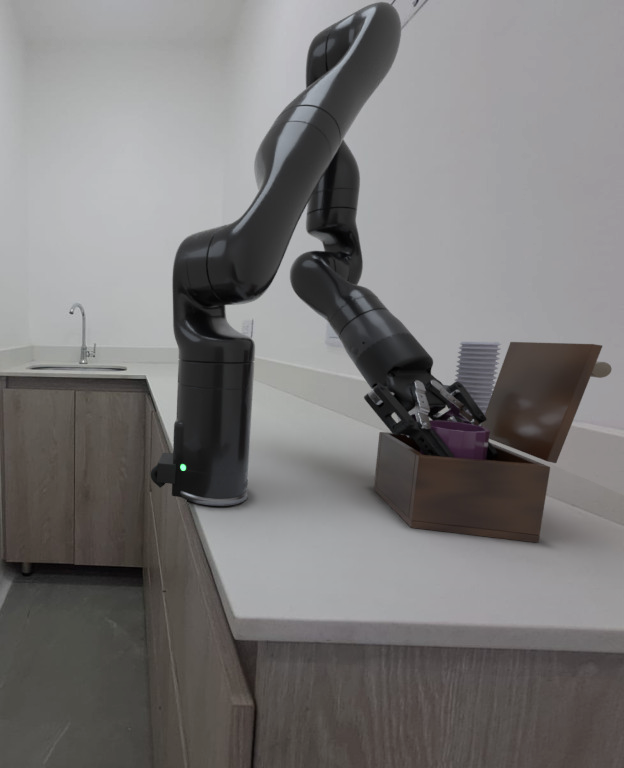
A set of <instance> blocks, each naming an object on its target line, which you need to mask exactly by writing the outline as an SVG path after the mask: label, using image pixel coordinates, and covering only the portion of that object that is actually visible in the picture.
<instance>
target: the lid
mask: <svg viewBox="0 0 624 768" xmlns="http://www.w3.org/2000/svg"><path fill="white" fill-rule="evenodd" d="M602 349H603V345H601V344H595V343H572V342H571V343H569V342H567V343H565V342H534V341H531V342H530V341H510V342H509V345H508V347H507V351H506V353H505V357H504V359H503V362H502V365H501V368H500V370H499V373H498V376H497V378H496V381H495V382H496V383H495V384H494V389H492V391H493V393H492V394H491V395H492V396H491V398H490V401H489V404H488V407H487V410H486V412H485V417H486V419H487V420H486V421H484V422H482V424H481V426H482V427H485V428H488V429H489V430H490V434H489V440H491V441H493V442H497V443H499V444H502V445H504V446H506V447H509V448H512V449H514V450H516V451H519V452H522V453H524V454H527V455H529V456H533V457H535V458H537V459H540V460H543V461H545V462H547V463H553V464H557V462H558V460H559V457H560V455H561V452H562V450H563V447H564V445H565V442H566V440H567V437H568V434H569V432H570V430H571V427H572V425H573V423H574V420H575V416H576V414H577V412H578V409H579V407H580V404H581V402H582V399H583V396H584V394H585V392H586V389H587V387H588V384H589V382H590V379H591V378H598V379H601V378H602V379H603V378H606V377H607V376H609V375H610V374H611V373H612V366H611V364H610V363H608V362H606V361H598V358H599V357H600V354H601V351H602Z"/></svg>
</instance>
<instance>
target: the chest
mask: <svg viewBox="0 0 624 768" xmlns="http://www.w3.org/2000/svg"><path fill="white" fill-rule="evenodd" d="M490 444H491V445H492V446H493V447H494V449H495V450H496V451H497V453H498V456H497V457H496V458H494V459H492V460H479V459H467V458H454V457H441V456H429V455H423V454H421V453H420V448H419V446H418V445H417V443H416V442H415V441H414V440H412V439H409V438H408V437H407V436H406V435H404V434H401V435H399V436H396V435H394V434H393V433H392V432H388V431H379V433H378V444H377V452H376V462H375V472H374V475H375V476H374V484H373V491H374V492H376V493H377V494H378V495H379V496H380V497H381V498H382V500H383V501H384V502H385V503H386V504H387V505H388V506H390V508H392V510H393V511H394V512H395V513H396V514H397V515H398V516H399V517H400V519H402V520H403V521H404V522H405V523H406V524H407V525H408V526H409V527H410V529H411V528H412V529H421V530H428V531H438V532H445V533H454V534H461V535H462V534H463V535H470V536H479V537H486V538H495V539H503V540H510V541H511V540H512V541H520V542H530V543H539V542H540V535H541V528H542V522H543V516H544V510H545V504H546V497H547V491H548V485H549V478H550V472H551V467H550V466H549V465H546V464H544V463H542V462H539V461H536V460H534V459H531V458H530V457H527V456H524V455H522V454H519V453H517V452H514V451H512V450H509V449H507V448H504V447H503V446H499V445H497V444H494V443H492V442H490Z"/></svg>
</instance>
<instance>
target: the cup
mask: <svg viewBox="0 0 624 768" xmlns="http://www.w3.org/2000/svg"><path fill="white" fill-rule="evenodd" d="M429 420H430V423H431V427H432V428H431V429H430V430H435V431H436V433H437V434H438V435H439V436H440V438H441V439H442V440H443V442H444V443H445V444H446V446H447V447H448V448H449V450H450V451H451V452H452V454H453V455H454V457H455V458H467V459H479V460H486V456H487V449H488V442H490V441H489V440H490V439H489V434H490V430H489V429H488V428H485V427H482V426H478V425H474V424H468V423H462V422H454V421H442V420H432V419H429ZM420 453H421V454H423V455H424V453H423V452H422V450H421V449H420Z"/></svg>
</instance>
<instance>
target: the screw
mask: <svg viewBox="0 0 624 768" xmlns="http://www.w3.org/2000/svg"><path fill="white" fill-rule="evenodd" d="M459 345H461V346H459V347H458V349H459V350H460V351H457V354H459V355H458V356H457V359H459V360H457V361H456V363H457V364H458V365H455V366H456V368H458V369H456V370H455V372H456V374H454V376H455V377H457V378H455V379H454V382H459V383H461V384H462V385H463V386H464V387H465V389H466V390H467V392H468V393H469V394H470V396H471V397H472V399H473V400H474V401H475V403H476V404H477V406H478V407H479V408H480V410H481V411H482V413H483V414H484V415H485V412H486V410H487V407H488V404H489V401H490V398H491V396H492V393H493V390H494V387H495V384H496V381H494V380H497V379H498V376H497V377H496V375H497V374H498V375H499V373H498V372H497V371H495V370H499V367H497V365H499V364H500V363H499V362H497V361H498V360H500V359H501V358H500V357H497V356H499V355H501V353H500V352H498V351H500V350H502V348H501V347H498V346H501V345H502V343H500V342H499V341H498V342H497V341H461V342H460V343H459ZM466 412H467V413H468V414H470V415H471V416H472V414H471V413H470V412H469V410H466ZM450 419H451V420H453V421H454V422H457V421H456V419H455V418H454V416H452V417H451V418H450ZM481 424H482V423H481ZM481 424H479V426H481Z"/></svg>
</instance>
